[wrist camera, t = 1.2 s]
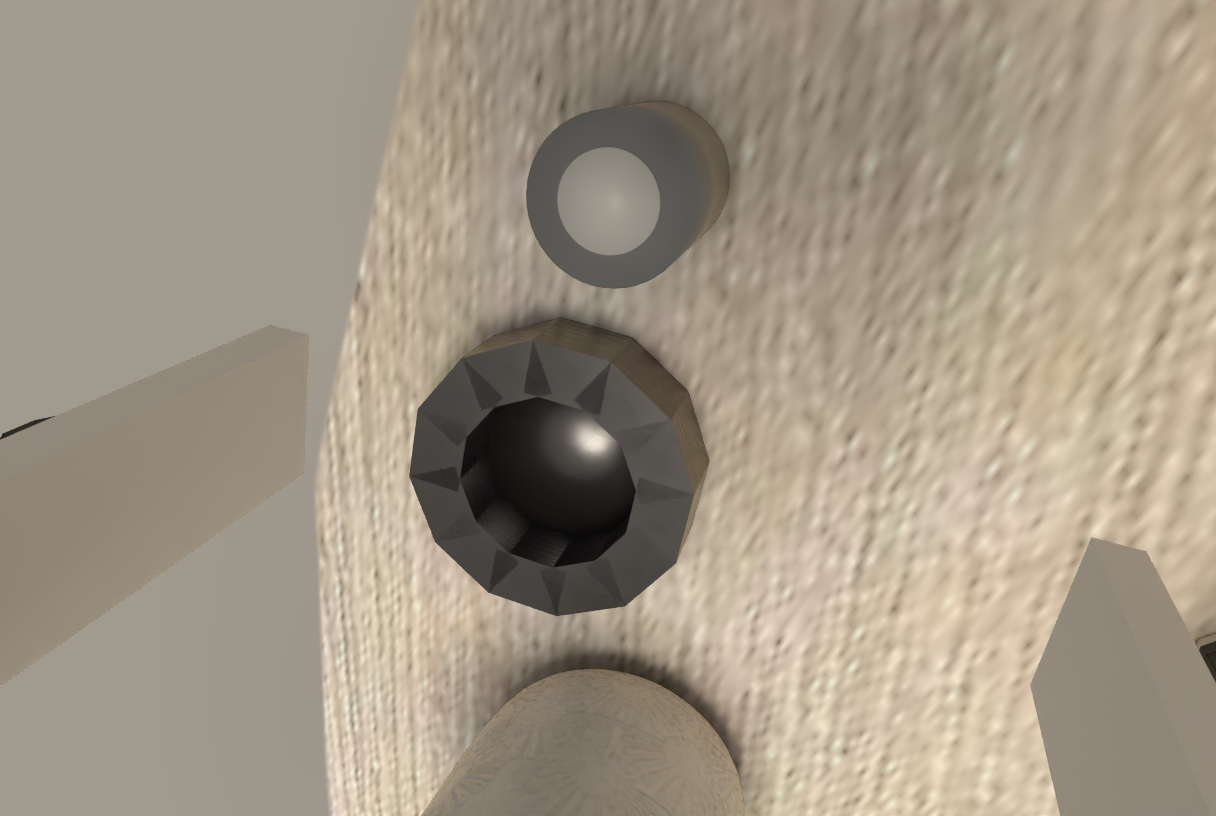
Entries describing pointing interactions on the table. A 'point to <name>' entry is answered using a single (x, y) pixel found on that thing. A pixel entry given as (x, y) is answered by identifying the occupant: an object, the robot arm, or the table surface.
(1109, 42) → the table surface
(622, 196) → the cap
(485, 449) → the grey ring
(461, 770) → the planter
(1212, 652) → the camera
